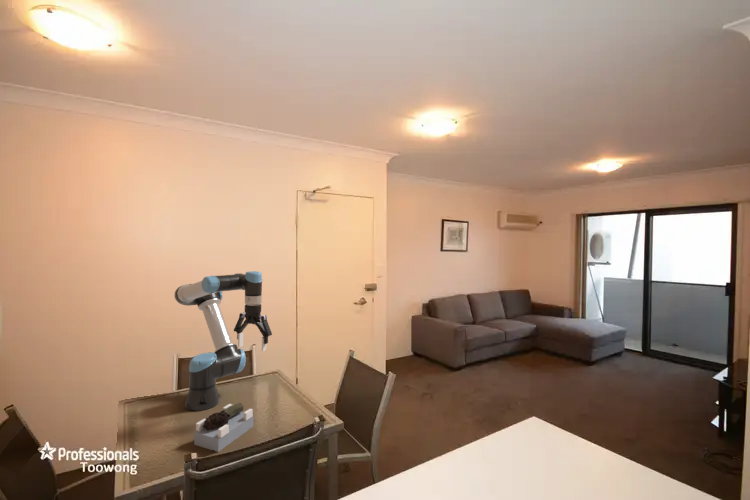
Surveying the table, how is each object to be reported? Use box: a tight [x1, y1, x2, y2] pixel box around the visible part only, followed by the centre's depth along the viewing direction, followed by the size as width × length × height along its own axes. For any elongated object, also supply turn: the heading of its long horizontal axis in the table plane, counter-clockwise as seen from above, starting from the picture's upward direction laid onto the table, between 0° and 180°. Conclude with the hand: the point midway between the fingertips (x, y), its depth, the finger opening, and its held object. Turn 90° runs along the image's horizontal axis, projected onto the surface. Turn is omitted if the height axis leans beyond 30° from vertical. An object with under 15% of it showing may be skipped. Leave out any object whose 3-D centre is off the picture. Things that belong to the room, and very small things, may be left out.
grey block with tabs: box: [193, 403, 255, 453], centre depth 145 cm, size 12×20×8 cm, turn 160°
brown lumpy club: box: [203, 402, 244, 429], centre depth 146 cm, size 18×7×6 cm, turn 157°
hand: (252, 348), depth 168 cm, fingers open, 13 cm apart
